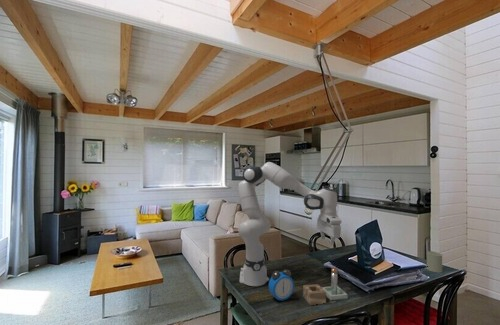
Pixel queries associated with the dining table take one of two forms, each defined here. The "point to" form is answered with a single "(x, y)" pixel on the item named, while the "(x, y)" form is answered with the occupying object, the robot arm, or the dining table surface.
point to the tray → (339, 296)
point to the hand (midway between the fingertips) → (327, 241)
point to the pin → (334, 281)
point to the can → (434, 261)
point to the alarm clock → (281, 285)
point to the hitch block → (314, 294)
